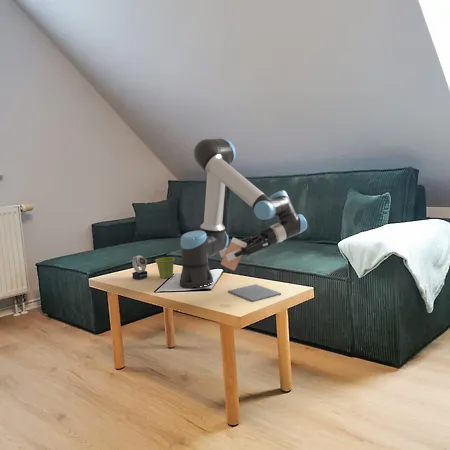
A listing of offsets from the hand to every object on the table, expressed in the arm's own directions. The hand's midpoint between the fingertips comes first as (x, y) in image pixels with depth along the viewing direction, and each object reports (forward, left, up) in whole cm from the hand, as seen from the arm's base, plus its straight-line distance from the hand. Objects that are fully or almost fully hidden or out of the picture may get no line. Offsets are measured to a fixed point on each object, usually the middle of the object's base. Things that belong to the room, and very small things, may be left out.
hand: (223, 256), depth 200 cm
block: (0, +1, -5) cm, 5 cm away
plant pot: (-47, -15, -18) cm, 52 cm away
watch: (-51, -27, -18) cm, 61 cm away
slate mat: (-1, +13, -17) cm, 21 cm away
